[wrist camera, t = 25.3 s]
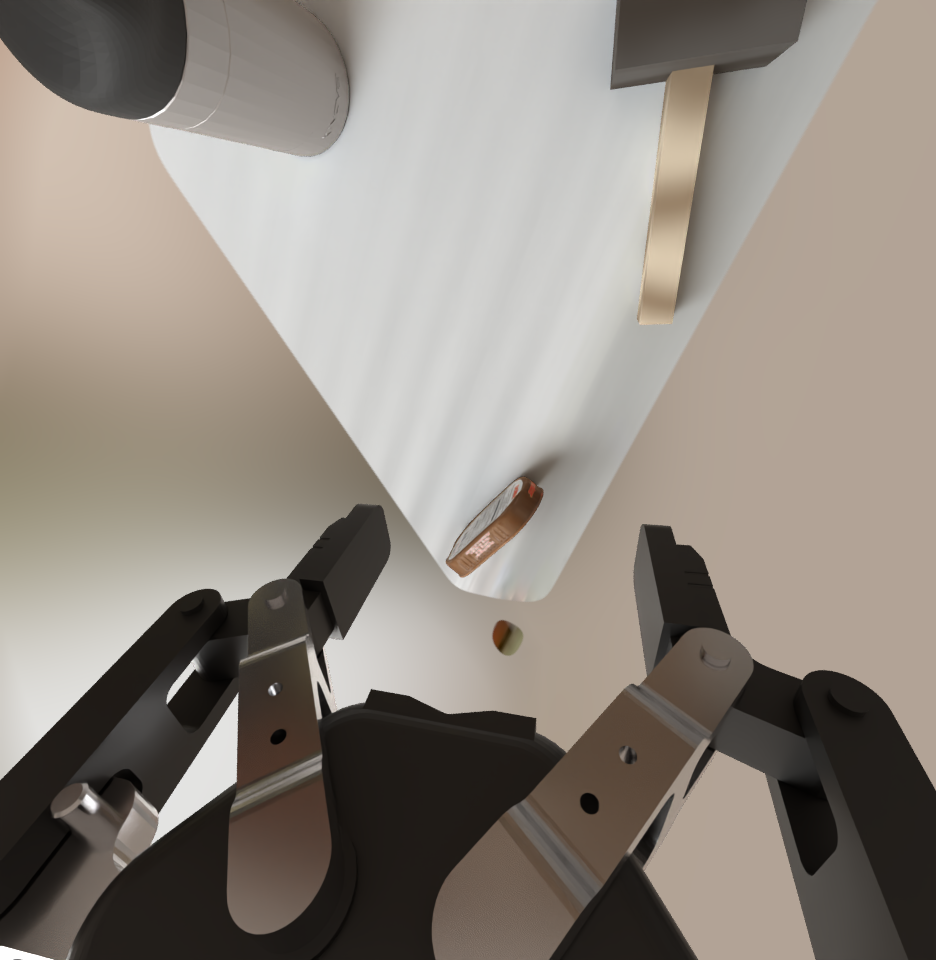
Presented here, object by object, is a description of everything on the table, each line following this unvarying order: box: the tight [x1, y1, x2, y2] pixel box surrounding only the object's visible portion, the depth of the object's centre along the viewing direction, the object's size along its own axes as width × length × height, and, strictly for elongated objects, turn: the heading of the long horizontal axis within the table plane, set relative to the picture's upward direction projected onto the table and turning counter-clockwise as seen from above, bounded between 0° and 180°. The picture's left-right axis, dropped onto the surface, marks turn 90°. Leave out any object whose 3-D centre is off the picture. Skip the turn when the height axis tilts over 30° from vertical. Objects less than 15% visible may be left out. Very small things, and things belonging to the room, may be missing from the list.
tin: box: [446, 477, 543, 577], centre depth 49 cm, size 15×3×8 cm, turn 143°
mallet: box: [610, 0, 807, 325], centre depth 31 cm, size 21×10×5 cm, turn 4°
